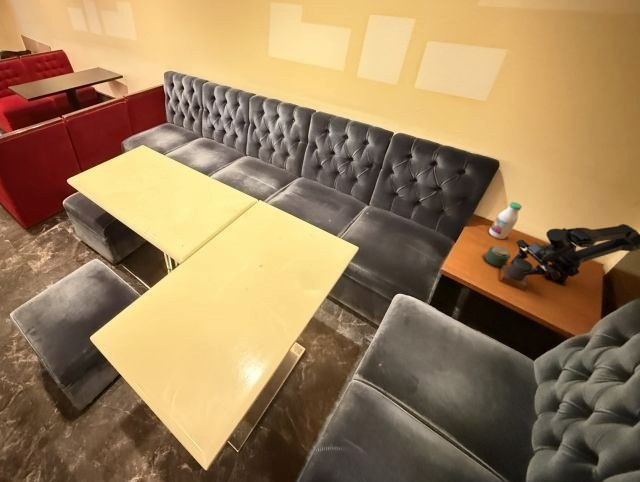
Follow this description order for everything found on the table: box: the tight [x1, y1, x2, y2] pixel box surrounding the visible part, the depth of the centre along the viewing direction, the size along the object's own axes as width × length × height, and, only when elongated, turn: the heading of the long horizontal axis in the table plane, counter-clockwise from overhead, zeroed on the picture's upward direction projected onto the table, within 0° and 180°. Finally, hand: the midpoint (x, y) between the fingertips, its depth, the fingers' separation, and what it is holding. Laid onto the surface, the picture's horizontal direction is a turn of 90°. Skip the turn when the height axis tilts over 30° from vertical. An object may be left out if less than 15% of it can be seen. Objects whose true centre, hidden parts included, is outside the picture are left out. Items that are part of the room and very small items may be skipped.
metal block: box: [499, 264, 528, 291], centre depth 140 cm, size 8×8×3 cm
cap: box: [507, 258, 534, 280], centre depth 137 cm, size 6×6×8 cm
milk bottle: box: [488, 201, 522, 240], centre depth 160 cm, size 8×8×20 cm
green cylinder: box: [483, 245, 511, 269], centre depth 148 cm, size 8×8×8 cm
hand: (516, 268), depth 137 cm, fingers closed on cap, 6 cm apart
